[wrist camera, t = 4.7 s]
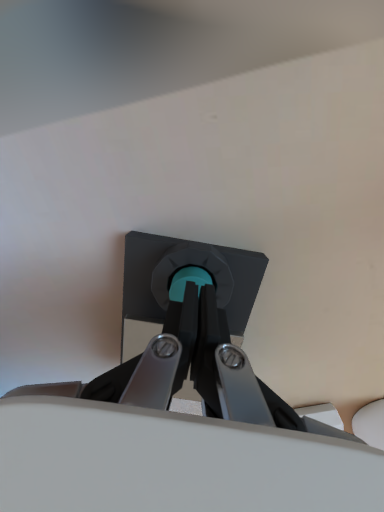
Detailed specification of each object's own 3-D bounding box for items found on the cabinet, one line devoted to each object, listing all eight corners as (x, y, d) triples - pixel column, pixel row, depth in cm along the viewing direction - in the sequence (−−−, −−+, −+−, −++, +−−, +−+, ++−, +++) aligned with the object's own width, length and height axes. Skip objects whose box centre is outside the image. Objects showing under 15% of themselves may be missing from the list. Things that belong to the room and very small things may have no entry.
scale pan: (126, 313, 15) (123, 318, 14) (242, 331, 15) (244, 337, 14) (123, 383, 18) (120, 390, 17) (220, 397, 18) (220, 405, 17)
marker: (201, 419, 26) (328, 399, 23) (206, 437, 26) (335, 418, 23) (198, 435, 23) (340, 414, 21) (203, 455, 23) (348, 436, 20)
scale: (131, 225, 16) (116, 235, 13) (265, 247, 16) (279, 262, 13) (124, 355, 21) (113, 382, 18) (225, 370, 21) (228, 399, 18)
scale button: (174, 262, 14) (171, 272, 12) (216, 269, 14) (218, 280, 12) (169, 298, 15) (166, 311, 13) (208, 304, 15) (209, 317, 14)
